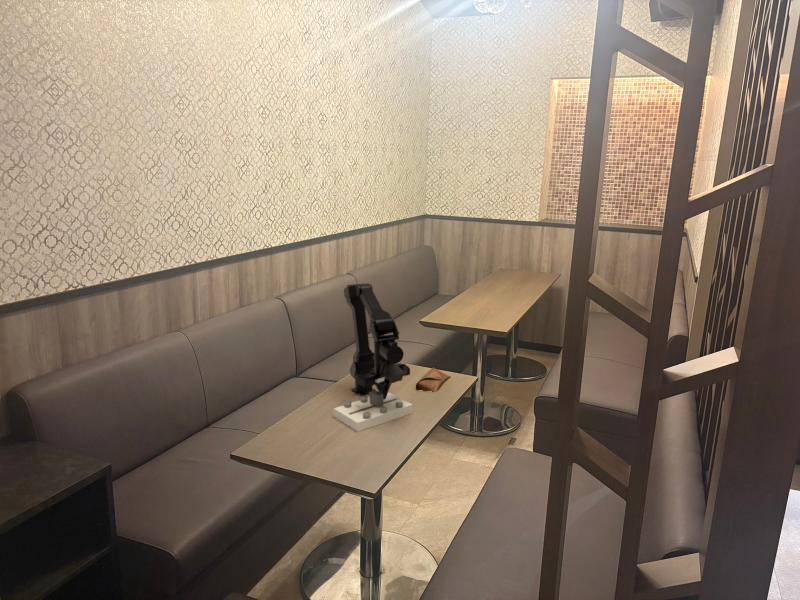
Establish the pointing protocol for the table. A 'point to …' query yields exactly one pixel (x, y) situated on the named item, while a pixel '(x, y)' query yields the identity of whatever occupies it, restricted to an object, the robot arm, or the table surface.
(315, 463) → the table surface
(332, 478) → the table surface
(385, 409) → the mixer console
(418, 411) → the table surface
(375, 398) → the fader
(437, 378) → the sunglasses case
